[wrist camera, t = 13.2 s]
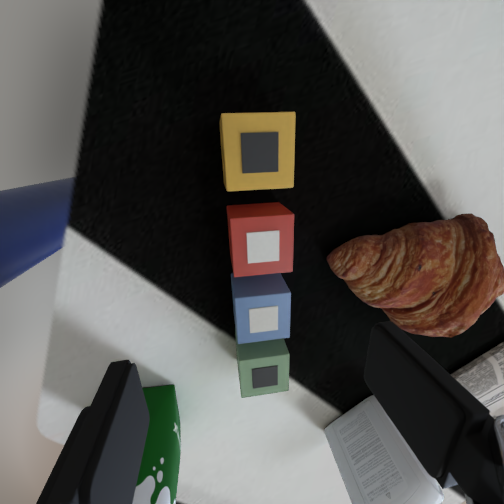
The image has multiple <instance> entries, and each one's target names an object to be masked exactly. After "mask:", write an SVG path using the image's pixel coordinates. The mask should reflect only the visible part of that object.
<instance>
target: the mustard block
mask: <svg viewBox="0 0 504 504" xmlns="http://www.w3.org/2000/svg"><path fill="white" fill-rule="evenodd" d="M219 124H220V137H221V151H222V164H223V177H224V184H225V187H226V190H227V191H243V190H260V189H278V188H293V187H294V150H295V112H263V113H222V114H221V117H220V122H219Z"/></svg>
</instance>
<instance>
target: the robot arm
mask: <svg viewBox="0 0 504 504" xmlns="http://www.w3.org/2000/svg"><path fill="white" fill-rule="evenodd" d="M364 379H365V382H366V384H367V386H368V387H369V389H370V390H371V392H372V393H373V395H374V396H375V398H376V399H377V400H378V402H379V403H380V405H381V406H382V408H383V409H384V411H385V412H386V414H387V415H388V416H389V418H390V419H391V421H392V422H393V424H394V425H395V427H396V428H397V430H398V431H399V432H400V434H401V435H402V437H403V438H404V440H405V441H406V443H407V444H408V445H409V447H410V448H411V450H412V451H413V453H414V454H415V456H416V457H417V459H418V460H419V461H420V463H421V464H422V466H423V467H424V469H425V470H426V472H427V473H428V474H429V475H430V476H431V477H433V478H435V479H436V480H437V481H438V483H439V484H440V486H441V487H442V489H443V488H447V487H451V486H455V485H457V484H458V485H459V486H460V487H461V489H462V490H463V491H464V493H465V497H466V503H467V504H504V415H500V416H497V417H496V418H495V419H494V418H493V417H492V416H491V415H490V414H489V413H490V410H489V409H487V408H486V407H485V406H484V405H483V404H482V403H481V402H480V401H479V400H478V399H477V398H475V397H474V396H473V395H472V394H471V393H470V392H469V391H468V390H467V389H466V388H464V387H463V386H462V385H461V384H460V383H459V382H458V381H457V380H456V379H455V378H454V377H452V376H451V375H450V374H449V373H448V372H447V371H446V370H445V369H444V368H443V367H441V366H440V365H439V364H438V363H437V362H436V361H435V360H434V359H433V358H432V357H431V356H429V355H428V354H427V353H426V352H425V351H424V350H423V349H422V348H421V347H420V346H418V345H417V344H416V343H415V342H414V341H413V340H412V339H411V338H410V337H409V336H408V335H406V334H405V333H404V332H403V331H402V330H401V329H400V328H399V327H398V326H397V325H395V324H394V323H393V322H391V321H387V322H380V323H376V324H375V326H374V327H373V328H372V330H371V336H370V342H369V348H368V354H367V360H366V366H365V372H364ZM149 420H150V416H149V411H148V407H147V403H146V400H145V396H144V393H143V389H142V385H141V382H140V378H139V374H138V371H137V367H136V364H135V363H132V364H131V362H130V361H129V360H123V361H116V362H111V363H110V365H109V367H108V369H107V371H106V373H105V375H104V378H103V380H102V382H101V384H100V386H99V389H98V391H97V393H96V395H95V397H94V399H93V402H92V404H91V406H88V407H85V408H84V409H83V410H82V411H81V413H80V415H79V416H78V418H77V421H76V423H75V425H74V427H73V429H72V431H71V433H70V435H69V437H68V439H67V441H66V443H65V445H64V448H63V449H62V451H61V454H60V456H59V458H58V460H57V462H56V464H55V466H54V468H53V470H52V472H51V474H50V476H49V478H48V480H47V483H46V485H45V487H44V489H43V491H42V493H41V495H40V497H39V499H38V501H37V503H36V504H132V503H133V498H134V493H135V489H136V484H137V479H138V474H139V470H140V465H141V460H142V456H143V451H144V446H145V441H146V437H147V432H148V427H149Z"/></svg>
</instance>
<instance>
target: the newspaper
mask: <svg viewBox="0 0 504 504" xmlns="http://www.w3.org/2000/svg"><path fill="white" fill-rule="evenodd" d="M450 375H451V376H452V377H454V378H455V379H456V380H457V381H458V382H459V383H460V384H461V385H462V386H463V387H464V388H466V389H467V390H468V391H469V392H470V393H471V394H472V395H473V396H474V397H475V398H477V399H478V400H479V401H480V402H481V403H482V404H483V405H484V406H485V407H486V408H487V409H489V410H490V413H489V414H490V415H491V416H492V417H493V418H494V419H495V418H496V417H497V416H500V415H504V342H502V343H501V344H499V345H497V346H496V347H494V348H492V349H491V350H489V351H488V352H486V353H484V354H483V355H481V356H480V357H478V358H476V359H475V360H473V361H471V362H470V363H468V364H467V365H465V366H463V367H462V368H460V369H458V370H457V371H455V372H454V373H452V374H450Z"/></svg>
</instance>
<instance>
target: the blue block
mask: <svg viewBox="0 0 504 504" xmlns="http://www.w3.org/2000/svg"><path fill="white" fill-rule="evenodd" d="M231 284H232V297H233V310H234V319H235V327H236V335H237V343H238V344H243V343H251V342H259V341H266V340H274V339H282V338H289V337H290V307H291V292H290V290H289V288H288V287H287V285H286V283H285V281H284V279H283V277H282V276H281V274H280V273H274V274H264V275H254V276H244V277H234V274H233V273H231Z"/></svg>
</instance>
